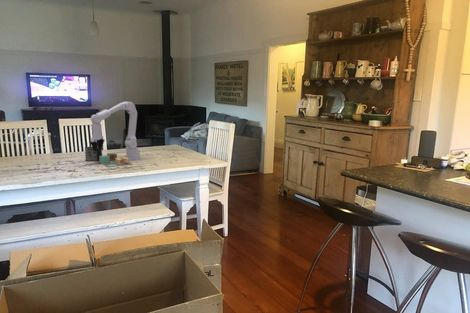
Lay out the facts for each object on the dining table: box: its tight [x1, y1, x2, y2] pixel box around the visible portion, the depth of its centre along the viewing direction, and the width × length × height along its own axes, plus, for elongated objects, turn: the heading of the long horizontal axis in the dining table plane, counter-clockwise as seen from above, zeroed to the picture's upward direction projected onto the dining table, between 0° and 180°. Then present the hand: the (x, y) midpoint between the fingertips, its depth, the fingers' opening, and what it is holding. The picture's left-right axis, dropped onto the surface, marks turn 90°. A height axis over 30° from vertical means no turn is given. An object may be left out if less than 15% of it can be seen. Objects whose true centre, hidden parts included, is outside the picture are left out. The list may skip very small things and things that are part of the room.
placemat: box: [102, 161, 134, 168], centre depth 253 cm, size 18×14×1 cm
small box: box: [84, 145, 103, 162], centre depth 265 cm, size 11×6×10 cm, turn 74°
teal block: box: [99, 154, 111, 165], centre depth 257 cm, size 6×6×6 cm
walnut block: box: [106, 152, 118, 162], centre depth 265 cm, size 6×6×6 cm
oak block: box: [114, 156, 130, 166], centre depth 254 cm, size 7×7×4 cm
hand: (97, 150), depth 255 cm, fingers open, 7 cm apart
